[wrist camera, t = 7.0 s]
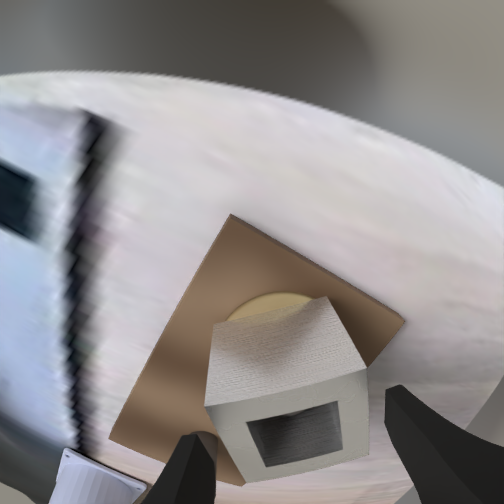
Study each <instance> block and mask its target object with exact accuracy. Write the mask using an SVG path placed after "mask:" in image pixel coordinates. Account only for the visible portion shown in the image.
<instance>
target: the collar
mask: <svg viewBox="0 0 504 504" xmlns="http://www.w3.org/2000/svg"><path fill="white" fill-rule="evenodd" d="M204 407H205V409H206V411H207V413H208V415H209V417H210V419H211V421H212V423H213V425H214V427H215V428H216V430H217V432H218V434H219V436H220V438H221V440H222V441H223V443H224V445H225V447H226V449H227V450H228V452H229V454H230V456H231V457H232V459H233V461H234V463H235V464H236V466H237V468H238V470H239V471H240V473H241V475H242V476H243V478H244V480H245V481H246V483H251V482H258V481H264V480H270V479H276V478H281V477H286V476H291V475H296V474H301V473H305V472H310V471H314V470H318V469H322V468H326V467H329V466H333V465H337V464H340V463H344V462H347V461H350V460H354V459H357V458H360V457H363V456H366V455H369V404H368V378H367V367H366V365H365V363H364V362H363V360H362V358H361V356H360V354H359V352H358V351H357V349H356V347H355V345H354V344H353V342H352V340H351V338H350V336H349V335H348V333H347V331H346V329H345V328H344V326H343V324H342V322H341V321H340V319H339V317H338V315H337V314H336V312H335V310H334V308H333V307H332V305H331V303H330V301H329V300H328V298H327V296H325V297H321V298H318V299H314V300H310V301H306V302H303V303H299V304H295V305H291V306H287V307H283V308H280V309H276V310H272V311H268V312H263V313H259V314H255V315H251V316H247V317H243V318H238V319H234V320H230V321H225V322H221V323H217V324H214V327H213V335H212V343H211V351H210V359H209V368H208V376H207V385H206V394H205V403H204ZM304 409H305V410H304ZM300 410H304V411H303V412H301V413H299V414H297V415H293V416H284V415H283V414H287V413H291V412H296V411H300Z"/></svg>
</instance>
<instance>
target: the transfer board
mask: <svg viewBox="0 0 504 504" xmlns="http://www.w3.org/2000/svg"><path fill="white" fill-rule="evenodd" d="M325 296H327V298H328V300H329V301H330V303H331V305H332V307H333V308H334V310H335V312H336V314H337V315H338V317H339V319H340V321H341V322H342V324H343V326H344V328H345V329H346V331H347V333H348V335H349V336H350V338H351V340H352V342H353V344H354V345H355V347H356V349H357V351H358V352H359V354H360V356H361V358H362V360H363V362H364V363H365V365H366V367H367V368H368V367H369V365H370V364H371V363H372V362H373V361H374V360H375V358H376V357H377V356H378V355H379V354H380V352H381V351H382V350H383V349H384V348H385V346H386V345H387V344H388V343H389V341H390V340H391V339H392V338H393V336H394V335H395V334H396V333H397V331H398V330H399V329H400V327H401V326H402V325H403V323H404V322H405V321H404V320H403V319H402V317H401V316H400V315H399V314H398V313H397V312H395V311H393V310H392V309H390V308H388V307H387V306H385V305H384V304H382V303H380V302H379V301H377V300H375V299H374V298H372V297H371V296H369V295H367V294H366V293H364V292H362V291H361V290H359V289H357V288H356V287H354V286H352V285H351V284H349V283H347V282H346V281H344V280H342V279H341V278H339V277H337V276H336V275H334V274H332V273H331V272H329V271H327V270H326V269H324V268H322V267H321V266H319V265H317V264H316V263H314V262H312V261H311V260H309V259H307V258H306V257H304V256H302V255H301V254H299V253H297V252H295V251H294V250H292V249H290V248H289V247H287V246H285V245H284V244H282V243H280V242H278V241H277V240H275V239H273V238H272V237H270V236H268V235H266V234H265V233H263V232H261V231H260V230H258V229H256V228H254V227H253V226H251V225H249V224H248V223H246V222H244V221H242V220H241V219H239V218H237V217H235V216H234V215H232V214H230V215H229V217H228V219H227V220H226V222H225V224H224V225H223V227H222V229H221V230H220V232H219V234H218V235H217V237H216V239H215V241H214V242H213V244H212V246H211V247H210V249H209V251H208V253H207V254H206V256H205V258H204V260H203V261H202V263H201V265H200V266H199V268H198V270H197V272H196V273H195V275H194V277H193V279H192V280H191V282H190V284H189V286H188V288H187V289H186V291H185V293H184V295H183V296H182V298H181V300H180V302H179V304H178V305H177V307H176V309H175V311H174V313H173V314H172V316H171V318H170V320H169V322H168V323H167V325H166V327H165V329H164V331H163V333H162V334H161V336H160V338H159V340H158V342H157V344H156V346H155V347H154V349H153V351H152V353H151V355H150V357H149V359H148V360H147V362H146V364H145V366H144V368H143V370H142V372H141V374H140V376H139V377H138V379H137V381H136V383H135V385H134V387H133V389H132V391H131V393H130V395H129V397H128V399H127V401H126V402H125V404H124V406H123V408H122V410H121V412H120V414H119V416H118V418H117V420H116V422H115V424H114V426H113V428H112V430H111V433H110V436H109V438H108V439H110V440H112V441H114V442H116V443H118V444H121V445H123V446H125V447H127V448H129V449H132V450H134V451H136V452H139V453H141V454H143V455H146V456H148V457H151V458H153V459H156V460H158V461H161V462H163V463H166V464H167V462H168V460H169V458H170V457H171V455H172V453H173V451H174V449H175V447H176V445H177V443H178V441H179V439H180V437H181V436H182V435H190V434H197V435H198V436H199V438H200V440H201V442H202V443H203V445H204V447H205V448H206V450H207V451H208V453H209V455H210V456H211V458H212V459H213V461H214V468H215V497H216V480H218V481H222V482H225V483H229V484H233V485H237V486H243V485H244V484H245V483H246V481H245V480H244V478H243V476H242V475H241V473H240V471H239V470H238V468H237V466H236V464H235V463H234V461H233V459H232V457H231V456H230V454H229V452H228V450H227V449H226V447H225V445H224V443H223V441H222V440H221V438H220V436H219V434H218V432H217V430H216V428H215V427H214V425H213V423H212V421H211V419H210V417H209V415H208V413H207V411H206V409H205V407H204V403H205V394H206V385H207V376H208V368H209V359H210V351H211V343H212V335H213V327H214V324H217V323H221V322H225V321H230V320H234V319H238V318H243V317H247V316H251V315H255V314H259V313H263V312H268V311H272V310H276V309H280V308H283V307H287V306H291V305H295V304H299V303H303V302H306V301H310V300H314V299H318V298H321V297H325ZM304 410H305V409H304ZM304 410H300V411H296V412H291V413H287V414H283V415H284V416H293V415H297V414H299V413H301V412H303V411H304Z"/></svg>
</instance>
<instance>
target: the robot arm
mask: <svg viewBox="0 0 504 504" xmlns="http://www.w3.org/2000/svg"><path fill="white" fill-rule="evenodd" d="M384 423H385V426H386V428H387V431H388V434H389V436H390V439H391V441H392V444H393V446H394V448H395V450H396V451H397V453H398V455H399V457H400V459H401V461H402V463H403V465H404V466H405V468H406V470H407V472H408V474H409V476H410V478H411V480H412V481H413V483H414V485H415V488H416V490H417V492H418V494H419V497H420V500H421V503H422V504H504V447H502V446H499V445H496V444H493V443H490V442H488V441H485V440H483V439H481V438H479V437H477V436H474V435H472V434H470V433H468V432H466V431H465V430H463V429H461V428H459V427H458V426H456V425H454V424H453V423H451V422H450V421H448V420H447V419H445V418H444V417H442V416H441V415H439V414H438V413H436V412H435V411H434V410H432V409H431V408H429V407H428V406H427V405H426V404H424V403H423V402H422V401H420V400H419V399H418V398H417V397H415V396H414V395H413V394H412V393H411V392H409V391H408V390H407V389H406V388H405V387H404V386H402V385H397V386H395V387H392V388H389V389H386V394H385V421H384ZM56 482H57V484H56V486H55V489H54V491H53V494H52V496H51V499H50V501H49V504H133V502H134V501H135V500H136V499H137V498H138V497H139V496H140V495H141V494H142V493H143V492H144V491H145V490H146V488H147V485H146V484H145V483H143V482H140V481H138V480H135V479H133V478H130V477H128V476H126V475H123V474H121V473H118V472H116V471H114V470H112V469H109V468H107V467H105V466H103V465H101V464H99V463H97V462H95V461H92V460H90V459H88V458H86V457H84V456H83V455H81V454H79V453H77V452H75V451H73V450H71V449H69V448H65V449H64V451H63V455H62V459H61V463H60V467H59V471H58V475H57V479H56ZM214 499H215V468H214V461H213V459H212V458H211V456H210V455H209V453H208V451H207V450H206V448H205V447H204V445H203V443H202V442H201V440H200V438H199V436H198V435H197V434H190V435H182V436H181V437H180V439H179V441H178V443H177V445H176V447H175V449H174V451H173V453H172V455H171V457H170V458H169V460H168V462H167V464H166V466H165V467H164V469H163V471H162V473H161V474H160V476H159V478H158V479H157V481H156V483H155V484H154V486H153V487H152V489H151V490H150V491H149V493H148V494H147V496H146V497H145V499H144V500H143V501H142V503H141V504H214Z"/></svg>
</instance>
